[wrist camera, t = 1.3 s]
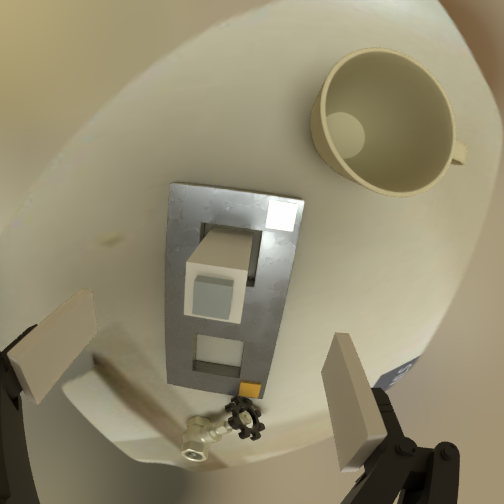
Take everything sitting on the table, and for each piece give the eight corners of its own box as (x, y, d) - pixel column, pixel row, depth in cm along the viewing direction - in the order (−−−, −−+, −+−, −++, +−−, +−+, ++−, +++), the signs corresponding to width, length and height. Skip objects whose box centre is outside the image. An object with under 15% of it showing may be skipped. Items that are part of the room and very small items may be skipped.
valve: (207, 436, 38) (265, 410, 35) (201, 468, 32) (265, 446, 29) (176, 415, 37) (232, 386, 34) (166, 448, 30) (227, 423, 28)
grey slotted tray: (171, 373, 34) (166, 384, 31) (176, 181, 26) (169, 183, 24) (262, 388, 34) (262, 400, 32) (301, 198, 26) (304, 201, 24)
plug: (208, 265, 29) (180, 322, 18) (212, 226, 28) (182, 267, 17) (248, 270, 29) (239, 331, 18) (253, 232, 28) (247, 276, 17)
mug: (329, 206, 26) (375, 239, 15) (277, 115, 24) (287, 79, 13) (416, 158, 24) (494, 163, 13) (370, 72, 22) (429, 28, 11)
